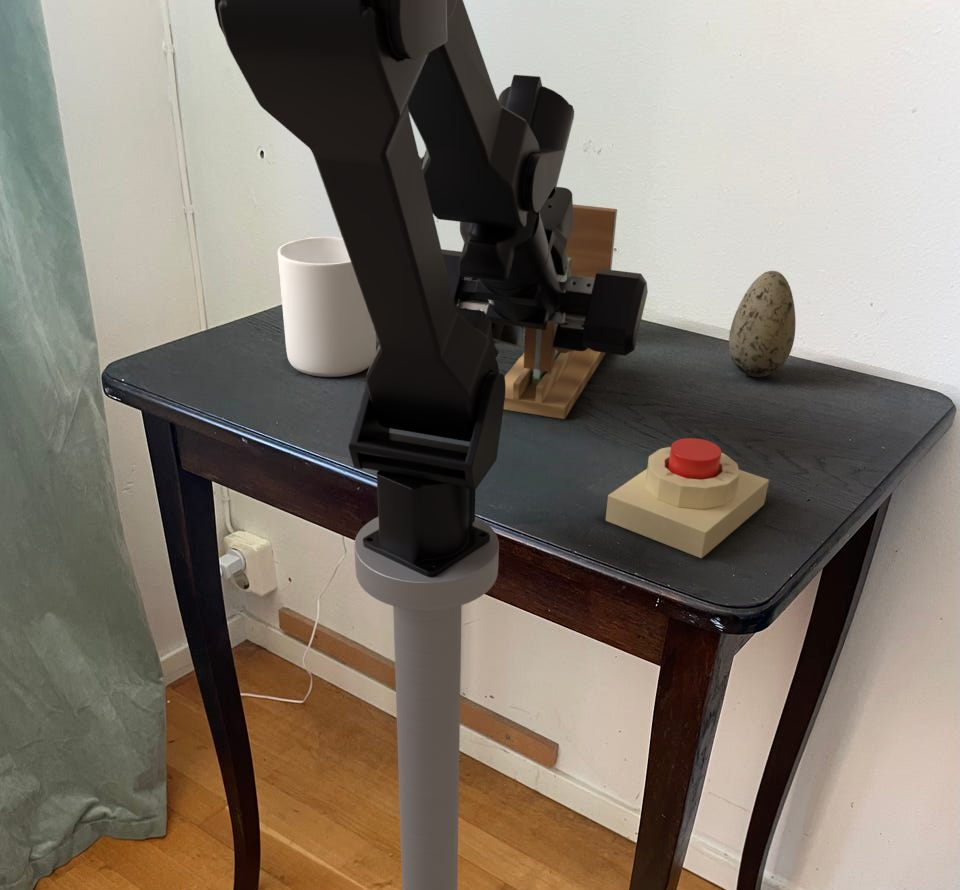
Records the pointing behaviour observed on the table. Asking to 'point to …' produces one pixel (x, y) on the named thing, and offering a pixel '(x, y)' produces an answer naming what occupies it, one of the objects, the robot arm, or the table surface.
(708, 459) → the button
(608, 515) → the control block
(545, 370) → the sash
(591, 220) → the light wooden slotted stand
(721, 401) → the table surface
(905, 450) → the table surface
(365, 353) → the mug
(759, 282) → the decorative egg
